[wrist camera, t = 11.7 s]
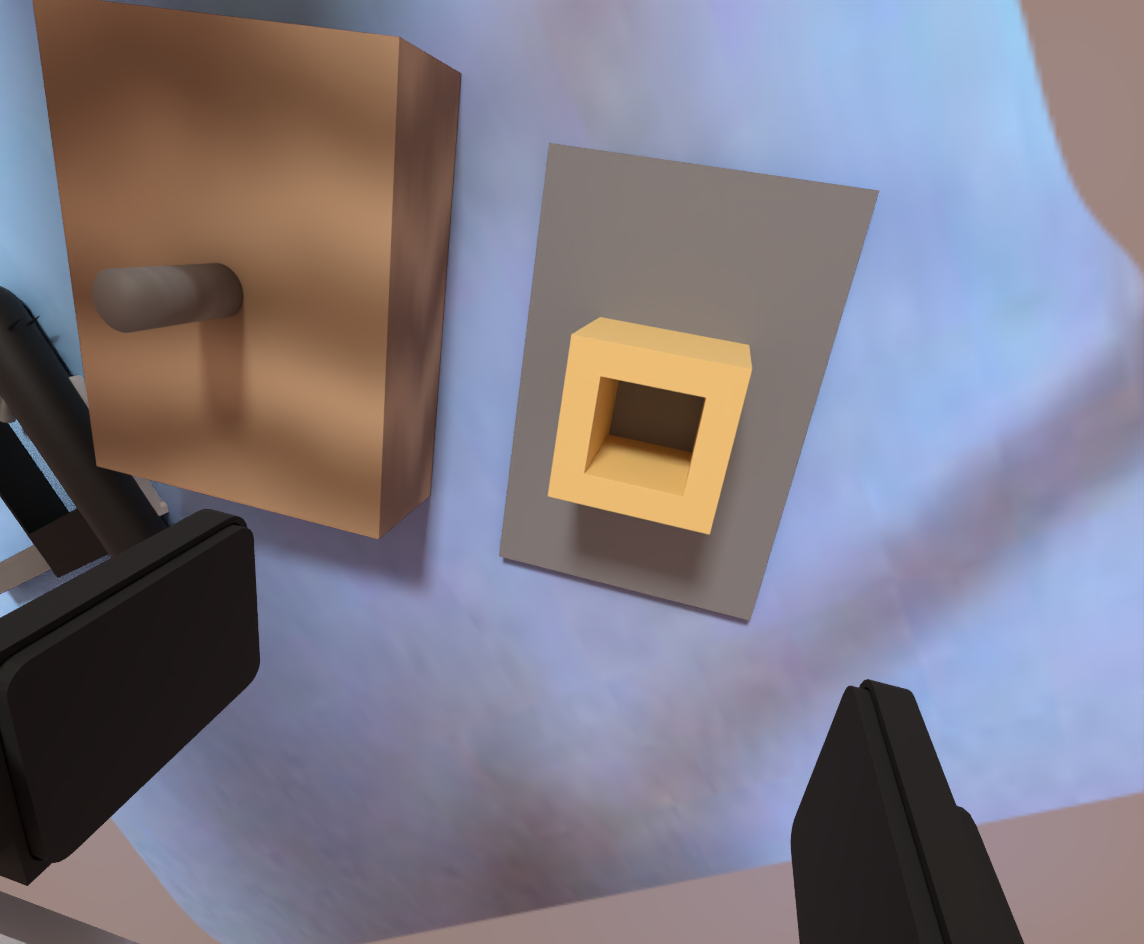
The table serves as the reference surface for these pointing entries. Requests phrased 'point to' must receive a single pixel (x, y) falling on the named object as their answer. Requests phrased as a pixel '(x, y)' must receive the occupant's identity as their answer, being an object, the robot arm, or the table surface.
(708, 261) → the mat
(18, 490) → the door handle
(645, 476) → the collar
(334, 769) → the table surface
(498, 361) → the table surface
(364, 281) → the stand
